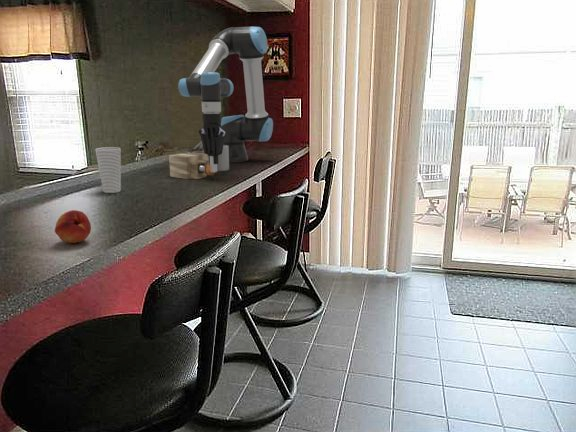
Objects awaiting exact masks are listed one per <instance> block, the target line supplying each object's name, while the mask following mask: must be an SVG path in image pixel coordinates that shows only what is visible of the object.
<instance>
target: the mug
mask: <svg viewBox="0 0 576 432" xmlns="http://www.w3.org/2000/svg"><path fill="white" fill-rule="evenodd" d="M226 171H230V162H229V148H228V145H223V151H222V154H221V155H218V164H217V172H226Z"/></svg>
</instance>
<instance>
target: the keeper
mask: <svg viewBox="0 0 576 432" xmlns="http://www.w3.org/2000/svg"><path fill="white" fill-rule="evenodd" d="M191 149H192V151H193V152H195V151H200V150H201V149H202V150H203V144H202V140H200V142H198V143H197V144H196V145H195V146H194V147H192V148H191Z"/></svg>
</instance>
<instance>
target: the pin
mask: <svg viewBox="0 0 576 432" xmlns="http://www.w3.org/2000/svg"><path fill="white" fill-rule="evenodd" d="M198 171H200V172H205V173H206V176H209V177H210V176H214V175H215V174H216V173H217V172H210V164H207V165H206V166H203V165H198Z"/></svg>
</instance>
